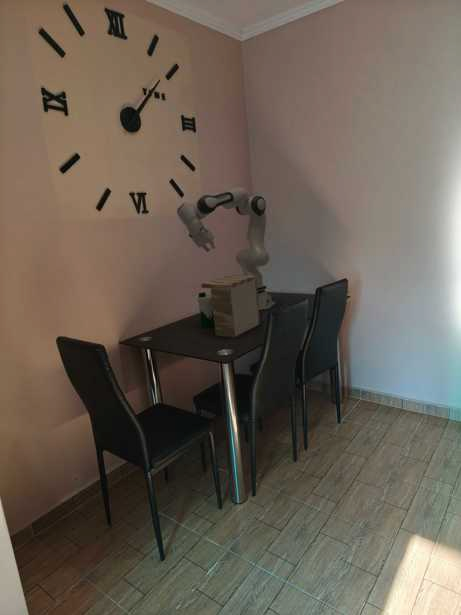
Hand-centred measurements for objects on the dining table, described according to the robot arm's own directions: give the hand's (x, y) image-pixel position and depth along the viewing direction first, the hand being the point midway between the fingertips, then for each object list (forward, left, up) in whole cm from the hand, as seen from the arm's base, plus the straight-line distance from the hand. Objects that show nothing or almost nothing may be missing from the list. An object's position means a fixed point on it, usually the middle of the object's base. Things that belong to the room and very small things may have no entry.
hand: (211, 249), depth 233 cm
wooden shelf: (+8, +17, -44) cm, 47 cm away
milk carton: (+8, -1, -44) cm, 45 cm away
